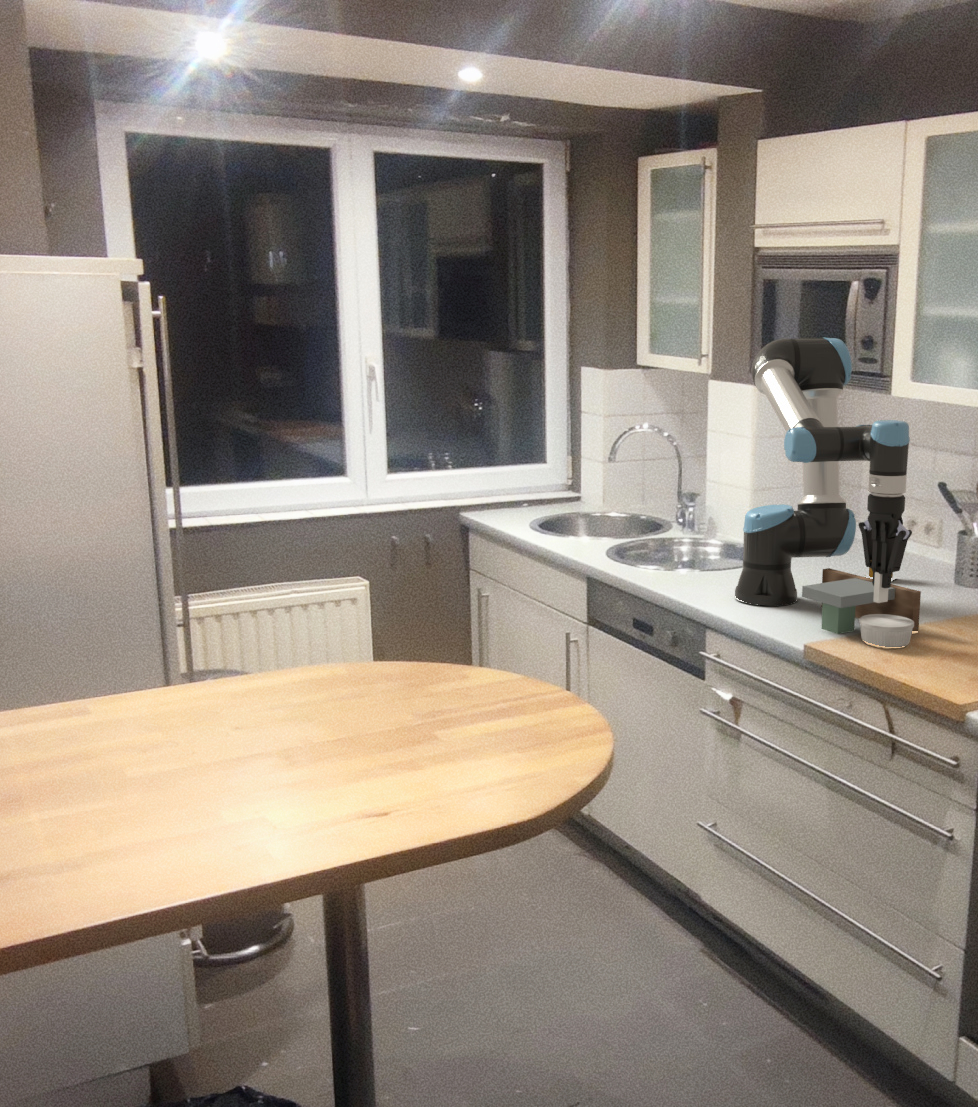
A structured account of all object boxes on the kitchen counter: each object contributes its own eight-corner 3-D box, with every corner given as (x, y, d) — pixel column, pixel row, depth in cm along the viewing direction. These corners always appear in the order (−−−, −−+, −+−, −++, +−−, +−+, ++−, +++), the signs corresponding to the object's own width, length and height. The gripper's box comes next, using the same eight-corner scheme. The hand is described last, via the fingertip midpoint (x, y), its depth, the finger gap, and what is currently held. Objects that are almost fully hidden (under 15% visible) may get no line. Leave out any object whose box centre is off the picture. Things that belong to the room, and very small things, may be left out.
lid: (801, 596, 250) (802, 586, 250) (854, 588, 257) (855, 577, 257) (840, 608, 240) (841, 597, 239) (894, 599, 247) (895, 588, 246)
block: (821, 629, 250) (822, 603, 249) (838, 626, 252) (839, 600, 251) (837, 634, 245) (838, 607, 244) (854, 631, 248) (855, 605, 246)
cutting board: (820, 607, 268) (822, 569, 266) (827, 606, 269) (828, 568, 267) (911, 634, 244) (914, 592, 242) (918, 633, 245) (920, 591, 243)
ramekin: (896, 635, 244) (898, 612, 243) (923, 649, 233) (924, 625, 232) (848, 638, 242) (849, 614, 241) (873, 652, 232) (874, 628, 230)
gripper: (850, 491, 239) (845, 597, 244) (897, 499, 228) (891, 610, 233) (876, 488, 242) (870, 593, 247) (923, 496, 231) (916, 605, 236)
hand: (880, 601), depth 240 cm, fingers closed
